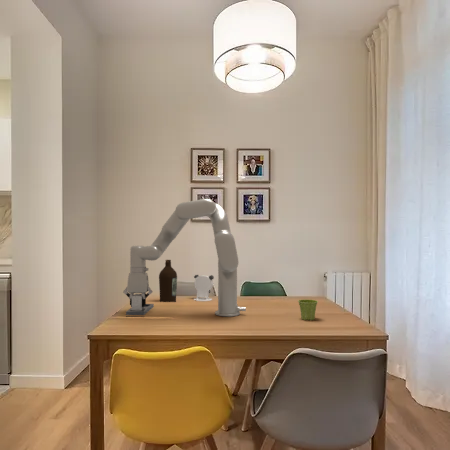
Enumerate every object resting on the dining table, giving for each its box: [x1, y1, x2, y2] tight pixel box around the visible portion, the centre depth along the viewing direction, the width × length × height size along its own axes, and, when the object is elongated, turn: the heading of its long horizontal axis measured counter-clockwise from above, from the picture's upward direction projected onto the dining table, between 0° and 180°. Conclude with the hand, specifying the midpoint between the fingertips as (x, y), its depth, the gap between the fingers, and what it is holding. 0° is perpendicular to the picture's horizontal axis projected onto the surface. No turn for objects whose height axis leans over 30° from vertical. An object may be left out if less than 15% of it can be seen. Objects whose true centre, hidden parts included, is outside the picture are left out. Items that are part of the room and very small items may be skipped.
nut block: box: [131, 293, 144, 311], centre depth 204 cm, size 5×5×8 cm
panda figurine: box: [193, 274, 215, 302], centre depth 250 cm, size 12×11×15 cm
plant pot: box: [297, 299, 319, 321], centre depth 196 cm, size 9×9×9 cm
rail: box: [125, 303, 154, 318], centre depth 210 cm, size 9×22×2 cm, turn 178°
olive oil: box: [158, 259, 178, 303], centre depth 240 cm, size 11×11×25 cm
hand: (137, 306), depth 204 cm, fingers closed on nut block, 4 cm apart
